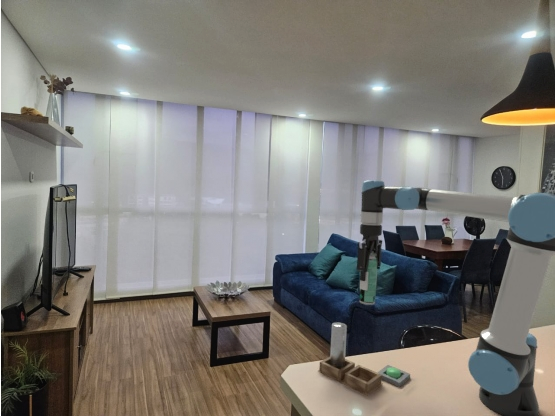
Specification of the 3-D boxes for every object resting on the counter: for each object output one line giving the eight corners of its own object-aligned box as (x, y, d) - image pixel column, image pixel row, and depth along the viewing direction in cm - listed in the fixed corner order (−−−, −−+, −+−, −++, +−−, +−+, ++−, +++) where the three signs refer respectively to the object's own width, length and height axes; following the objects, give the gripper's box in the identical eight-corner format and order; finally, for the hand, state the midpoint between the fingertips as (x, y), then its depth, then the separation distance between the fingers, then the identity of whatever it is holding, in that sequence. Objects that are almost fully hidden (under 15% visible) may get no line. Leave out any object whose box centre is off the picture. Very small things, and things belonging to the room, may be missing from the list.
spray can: (373, 300, 130) (376, 246, 129) (376, 305, 124) (379, 249, 123) (358, 299, 130) (361, 245, 129) (360, 304, 125) (363, 248, 124)
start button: (402, 379, 118) (402, 371, 118) (396, 384, 115) (396, 375, 114) (390, 374, 121) (390, 366, 121) (383, 379, 118) (384, 370, 118)
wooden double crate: (383, 386, 114) (383, 374, 114) (367, 399, 107) (367, 386, 106) (334, 364, 127) (334, 353, 127) (317, 374, 120) (317, 362, 120)
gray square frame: (409, 381, 118) (410, 373, 118) (399, 390, 112) (399, 382, 112) (387, 371, 123) (387, 364, 123) (376, 380, 118) (376, 372, 118)
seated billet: (347, 371, 120) (349, 325, 119) (338, 376, 117) (341, 329, 116) (335, 365, 124) (337, 321, 123) (326, 370, 120) (328, 324, 119)
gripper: (374, 221, 135) (371, 281, 136) (347, 224, 122) (344, 290, 123) (393, 223, 130) (389, 285, 131) (367, 226, 117) (363, 295, 118)
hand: (368, 287), depth 127 cm, fingers closed on spray can, 5 cm apart
